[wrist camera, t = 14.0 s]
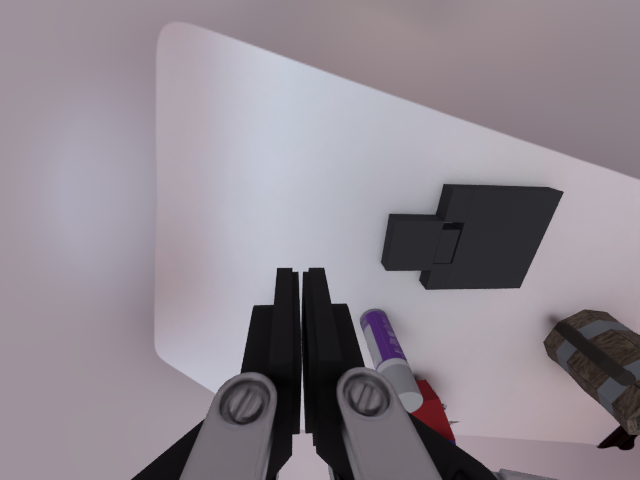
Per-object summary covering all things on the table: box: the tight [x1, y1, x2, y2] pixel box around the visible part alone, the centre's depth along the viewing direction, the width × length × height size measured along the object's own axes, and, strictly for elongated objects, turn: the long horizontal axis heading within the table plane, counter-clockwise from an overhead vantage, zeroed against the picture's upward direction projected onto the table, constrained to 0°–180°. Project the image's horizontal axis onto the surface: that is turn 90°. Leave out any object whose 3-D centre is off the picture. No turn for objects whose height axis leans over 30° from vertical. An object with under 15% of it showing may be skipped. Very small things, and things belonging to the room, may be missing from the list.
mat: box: [419, 184, 564, 290], centre depth 40 cm, size 16×16×2 cm
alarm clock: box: [411, 379, 457, 445], centre depth 48 cm, size 15×9×20 cm, turn 9°
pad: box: [381, 214, 460, 271], centre depth 40 cm, size 8×10×2 cm
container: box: [360, 309, 423, 413], centre depth 40 cm, size 5×5×15 cm
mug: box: [544, 310, 640, 435], centre depth 46 cm, size 20×14×15 cm
